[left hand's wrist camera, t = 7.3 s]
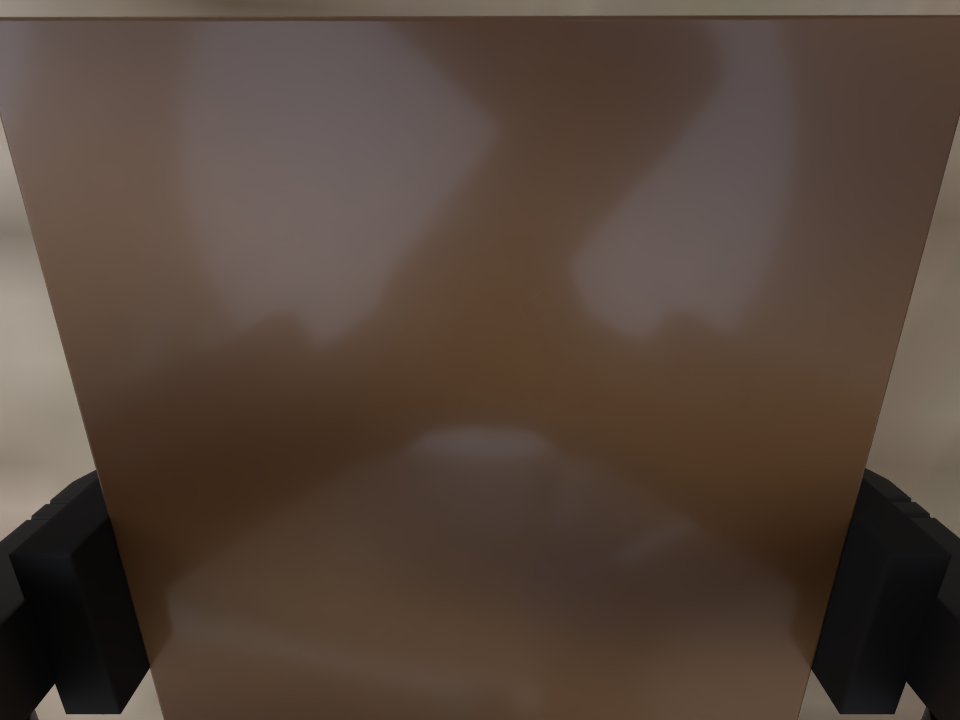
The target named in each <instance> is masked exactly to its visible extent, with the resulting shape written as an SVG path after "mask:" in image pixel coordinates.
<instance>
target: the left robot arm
mask: <svg viewBox="0 0 960 720" xmlns="http://www.w3.org/2000/svg"><path fill="white" fill-rule="evenodd" d="M149 668H150V666H149V663H148V659H147V655H146V651H145V648H144V644H143V640H142V637H141V633H140V629H139V626H138V622H137V618H136V615H135V611H134V607H133V604H132V600H131V596H130V592H129V589H128V585H127V581H126V578H125V574H124V570H123V567H122V563H121V559H120V556H119V552H118V548H117V545H116V541H115V537H114V533H113V530H112V526H111V522H110V519H109V515H108V511H107V508H106V504H105V500H104V497H103V493H102V489H101V486H100V482H99V478H98V474H97V471H96V470H95V471H93V472H91V473H89V474H87V475H85V476H83V477H81V478H79V479H77V480H76V481H74V482H72V483H71V484H70V485H68V486H67V487H66V488H65V489H64V490H62V491H61V492H60V493H59V494H58V495H56V496H55V497H54V498H53V499H52V500H50V504H45V505H44V506H43V507H42V508H41V509H39V510H38V511H37V512H36V513H35V514H33V515H32V518H31V520H26V521H25V522H24V523H23V524H21V525H20V526H19V527H18V528H16V529H15V530H14V531H13V532H12V533H10V534H9V535H8V536H7V537H6V538H4V539H3V540H2V541H1V542H0V720H39V719H38V717H37V714H36V712H35V708H36V707H37V706H38V704H39V703H40V702H41V701H42V699H43V698H44V697H45V695H46V694H47V693H48V692H49V690H50V689H51V688H52V687H53V685H54V684H55V685H56V687H57V690H58V693H59V696H60V698H61V701H62V704H63V707H64V709H65V712H66V714H121V713H122V711H123V709H124V708H125V706H126V705H127V703H128V702H129V700H130V698H131V697H132V695H133V694H134V692H135V690H136V689H137V687H138V686H139V684H140V683H141V681H142V679H143V678H144V676H145V675H146V673H147V671H148V670H149ZM811 669H812V671H813V672H814V674H815V675H816V677H817V679H818V680H819V682H820V683H821V685H822V687H823V688H824V690H825V691H826V693H827V694H828V696H829V698H830V699H831V701H832V702H833V704H834V706H835V707H836V709H837V710H838V712H839V713H840V714H895V711H896V708H897V706H898V703H899V700H900V697H901V695H902V692H903V689H904V686H905V684H906V681H907V683H908V684H909V685H910V687H911V688H912V689H913V690H914V692H915V693H916V694H917V695H918V697H919V698H920V699H921V700H922V702H923V703H924V704H925V705H926V709H925V712H924V714H923V717H922V719H921V720H960V538H959V537H957V536H956V535H955V534H954V533H952V532H951V531H950V530H949V529H948V528H946V527H945V526H944V525H943V524H942V523H940V522H939V521H938V520H937V519H935V518H930V514H929V513H928V512H927V511H926V510H924V509H923V508H922V507H921V506H920V505H918V504H917V503H916V502H911V498H910V497H909V496H907V495H906V494H905V493H904V492H903V491H901V490H900V489H899V488H898V487H896V486H895V485H894V484H893V483H892V482H890V481H889V480H888V479H886V478H884V477H882V476H880V475H878V474H876V473H874V472H872V471H870V470H868V469H866V468H865V470H864V474H863V478H862V481H861V485H860V489H859V493H858V496H857V500H856V504H855V507H854V511H853V515H852V519H851V522H850V526H849V530H848V534H847V537H846V541H845V545H844V548H843V552H842V556H841V560H840V563H839V567H838V571H837V575H836V578H835V582H834V586H833V589H832V593H831V597H830V601H829V604H828V608H827V612H826V616H825V619H824V623H823V627H822V630H821V634H820V638H819V642H818V645H817V649H816V653H815V657H814V660H813V664H812V668H811Z"/></svg>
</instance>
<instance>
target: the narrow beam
mask: <svg viewBox="0 0 960 720" xmlns="http://www.w3.org/2000/svg"><path fill="white" fill-rule="evenodd" d="M959 116H960V15H708V16H252V17H0V117H1V120H2V124H3V128H4V131H5V135H6V139H7V142H8V146H9V150H10V154H11V157H12V161H13V165H14V168H15V172H16V176H17V179H18V183H19V187H20V190H21V194H22V198H23V201H24V205H25V209H26V213H27V216H28V220H29V224H30V227H31V231H32V235H33V238H34V242H35V246H36V249H37V253H38V257H39V260H40V264H41V268H42V272H43V275H44V279H45V283H46V286H47V290H48V294H49V297H50V301H51V305H52V308H53V312H54V316H55V320H56V323H57V327H58V331H59V334H60V338H61V342H62V345H63V349H64V353H65V356H66V360H67V364H68V367H69V371H70V375H71V379H72V382H73V386H74V390H75V393H76V397H77V401H78V404H79V408H80V412H81V415H82V419H83V423H84V426H85V430H86V434H87V438H88V441H89V445H90V449H91V452H92V456H93V460H94V463H95V467H96V471H97V474H98V478H99V482H100V486H101V489H102V493H103V497H104V500H105V504H106V508H107V511H108V515H109V519H110V522H111V526H112V530H113V533H114V537H115V541H116V545H117V548H118V552H119V556H120V559H121V563H122V567H123V570H124V574H125V578H126V581H127V585H128V589H129V592H130V596H131V600H132V604H133V607H134V611H135V615H136V618H137V622H138V626H139V629H140V633H141V637H142V640H143V644H144V648H145V651H146V655H147V659H148V663H149V666H150V670H151V674H152V677H153V681H154V685H155V688H156V692H157V696H158V699H159V703H160V707H161V711H162V714H163V718H164V720H798V716H799V713H800V709H801V705H802V701H803V698H804V694H805V690H806V686H807V683H808V679H809V675H810V672H811V668H812V664H813V660H814V657H815V653H816V649H817V645H818V642H819V638H820V634H821V630H822V627H823V623H824V619H825V616H826V612H827V608H828V604H829V601H830V597H831V593H832V589H833V586H834V582H835V578H836V575H837V571H838V567H839V563H840V560H841V556H842V552H843V548H844V545H845V541H846V537H847V534H848V530H849V526H850V522H851V519H852V515H853V511H854V507H855V504H856V500H857V496H858V493H859V489H860V485H861V481H862V478H863V474H864V470H865V466H866V463H867V459H868V455H869V452H870V448H871V444H872V440H873V437H874V433H875V429H876V425H877V422H878V418H879V414H880V411H881V407H882V403H883V399H884V396H885V392H886V388H887V384H888V381H889V377H890V373H891V369H892V366H893V362H894V358H895V355H896V351H897V347H898V343H899V340H900V336H901V332H902V328H903V325H904V321H905V317H906V314H907V310H908V306H909V302H910V299H911V295H912V291H913V287H914V284H915V280H916V276H917V273H918V269H919V265H920V261H921V258H922V254H923V250H924V246H925V243H926V239H927V235H928V232H929V228H930V224H931V220H932V217H933V213H934V209H935V205H936V202H937V198H938V194H939V191H940V187H941V183H942V179H943V176H944V172H945V168H946V164H947V161H948V157H949V153H950V150H951V146H952V142H953V138H954V135H955V131H956V127H957V123H958V120H959Z"/></svg>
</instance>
